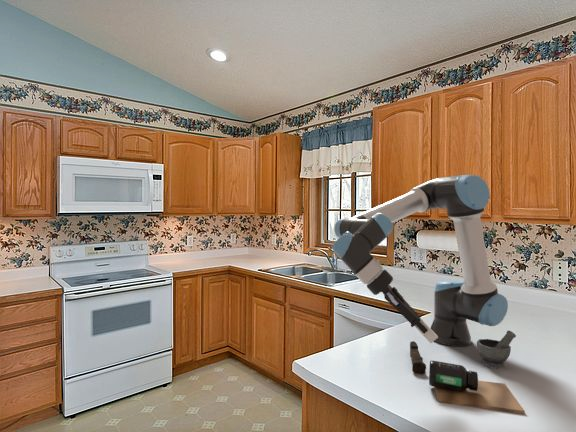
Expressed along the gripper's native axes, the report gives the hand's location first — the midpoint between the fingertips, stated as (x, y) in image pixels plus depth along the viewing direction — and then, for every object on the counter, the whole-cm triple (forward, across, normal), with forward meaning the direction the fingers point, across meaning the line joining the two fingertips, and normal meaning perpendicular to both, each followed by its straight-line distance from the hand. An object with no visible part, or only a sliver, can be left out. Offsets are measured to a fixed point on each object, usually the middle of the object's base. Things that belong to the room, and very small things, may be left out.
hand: (434, 339), depth 103 cm
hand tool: (+8, +18, +13) cm, 23 cm away
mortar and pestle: (+26, +24, -6) cm, 35 cm away
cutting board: (+17, 0, +2) cm, 17 cm away
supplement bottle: (+6, 0, +8) cm, 10 cm away
